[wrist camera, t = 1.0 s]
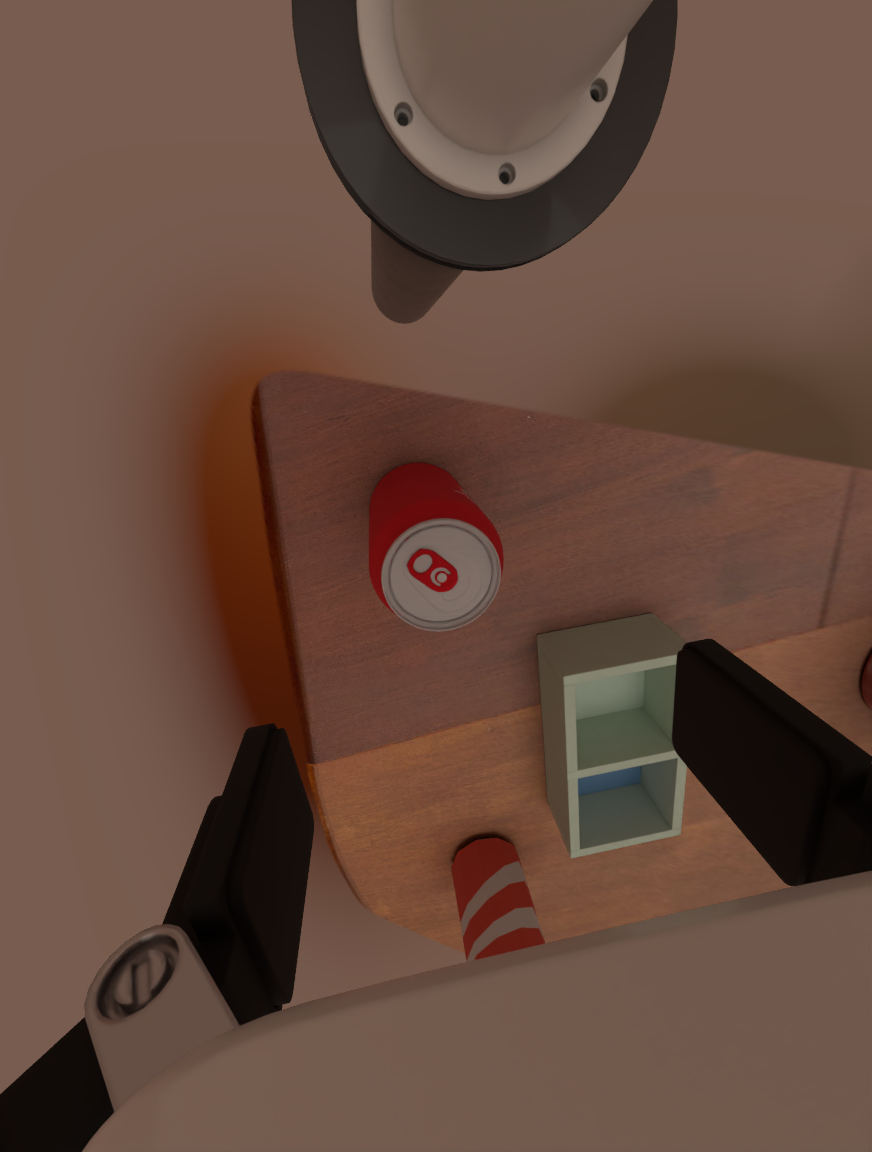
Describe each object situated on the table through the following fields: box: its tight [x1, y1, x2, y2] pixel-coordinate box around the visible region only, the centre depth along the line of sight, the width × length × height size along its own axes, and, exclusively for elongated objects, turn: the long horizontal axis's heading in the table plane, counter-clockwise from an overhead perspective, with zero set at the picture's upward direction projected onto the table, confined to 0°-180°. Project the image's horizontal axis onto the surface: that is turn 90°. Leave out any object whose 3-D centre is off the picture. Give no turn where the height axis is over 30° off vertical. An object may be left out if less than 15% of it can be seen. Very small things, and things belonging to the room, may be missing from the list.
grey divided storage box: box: [537, 613, 687, 858], centre depth 38 cm, size 18×9×6 cm, turn 8°
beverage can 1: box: [369, 463, 504, 631], centre depth 26 cm, size 6×6×12 cm
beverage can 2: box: [451, 838, 545, 962], centre depth 39 cm, size 6×6×12 cm
